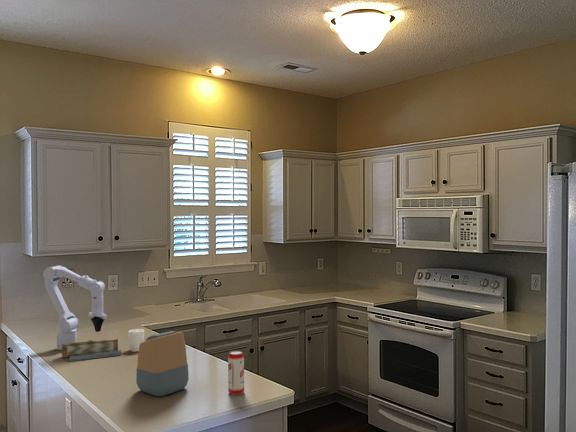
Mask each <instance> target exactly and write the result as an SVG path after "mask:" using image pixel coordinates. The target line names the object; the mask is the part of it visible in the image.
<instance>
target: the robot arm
mask: <svg viewBox="0 0 576 432" xmlns="http://www.w3.org/2000/svg"><path fill="white" fill-rule="evenodd" d="M42 276H43V279H44V289H45V290H46V292H47V294H48V296H49V298H50V300H51V302H52V304H53V307H54V309H55V311H56V313H57V314H58V318H57V324H58V329H59V331H58V332H57V334H56V348H55V350H57V351H58V350H59V351H62V344H67V343H77V342H78V339H77V335H78V334H77V333H78V331H77V330H78V327H79V326H80V321H79V319H78V317H76V316H75V314H74V313H73V312H71V311H70V310H69V307H68V305H67V303H66V301H65V299H64V297H63V295H62V293H61V291H60V289H59V287H58V284H59V282H60V280H61V279H62V278H66V279H69V280H71V281H74V282H77V284H78V286H80V287H82V288H84V289H86V290H88V291H89V293H90V295H91V311H89V312H88V317H91V318H90V320H91V322H92V324H93V328H94V330H95V332H96V333H98V332H99V333H100V332H101V330H102V325H103V324H104V321H105V320H107V319H108V315H107V314H106V313H104V291H105V290H106V284H105V283H104V282H103V281H102V280H98V281H97V279H93V278H91V277H89V275H82V276H81V275H79V274H78V273H75V272H74V271H72V270H70V269H68V268H67V267H65V266H63V265H54V266H48V267H45V269H44V271H43V274H42Z"/></svg>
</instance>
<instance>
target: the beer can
mask: <svg viewBox="0 0 576 432" xmlns="http://www.w3.org/2000/svg"><path fill="white" fill-rule="evenodd" d="M227 372H228V373H227V377H228V380H227V381H228V382H227V383H228V385H227V388H228V393H229V394H230V395H232V396H240V395H242V394H243V393H244V392H245V356H244V354H243V351H241V350H231V351H229V354H228V356H227ZM239 394H240V395H239Z"/></svg>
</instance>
